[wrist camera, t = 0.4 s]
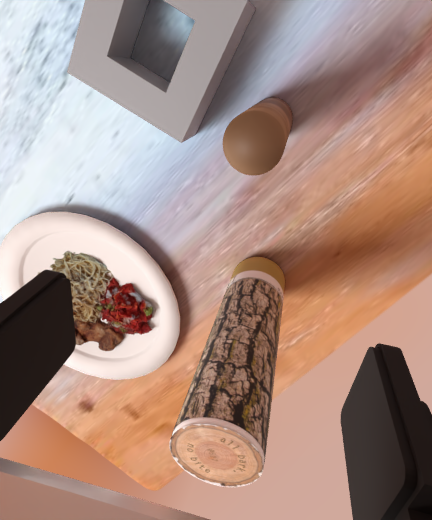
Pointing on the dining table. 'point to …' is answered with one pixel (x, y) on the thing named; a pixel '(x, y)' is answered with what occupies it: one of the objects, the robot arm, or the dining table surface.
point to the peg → (258, 136)
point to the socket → (147, 82)
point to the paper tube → (234, 382)
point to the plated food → (98, 291)
